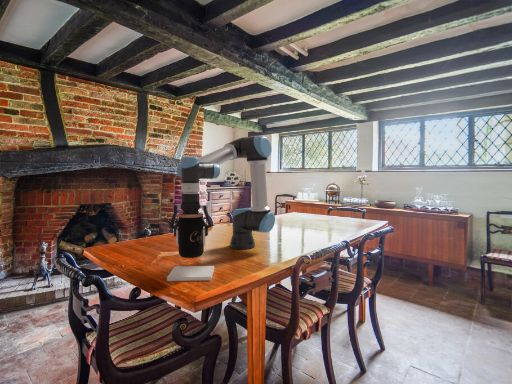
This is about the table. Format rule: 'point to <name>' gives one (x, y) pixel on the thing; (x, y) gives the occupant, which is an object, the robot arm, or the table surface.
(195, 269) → the plate
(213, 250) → the table surface
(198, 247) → the coffee jar
